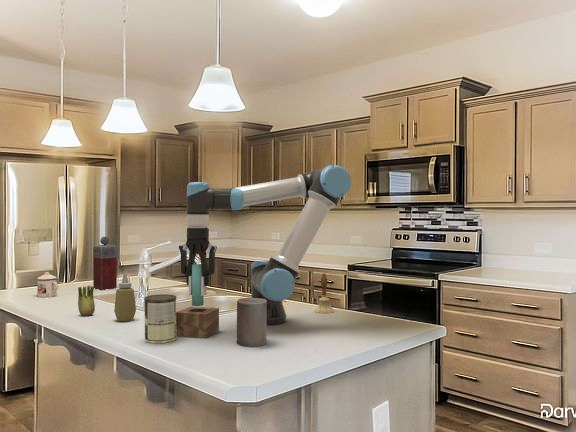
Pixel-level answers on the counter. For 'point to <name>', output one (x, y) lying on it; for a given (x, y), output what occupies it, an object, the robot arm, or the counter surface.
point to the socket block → (197, 322)
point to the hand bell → (324, 299)
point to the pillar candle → (251, 321)
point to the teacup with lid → (47, 285)
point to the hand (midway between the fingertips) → (197, 294)
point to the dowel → (197, 285)
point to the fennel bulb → (86, 301)
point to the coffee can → (160, 318)
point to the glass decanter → (104, 265)
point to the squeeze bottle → (125, 301)
